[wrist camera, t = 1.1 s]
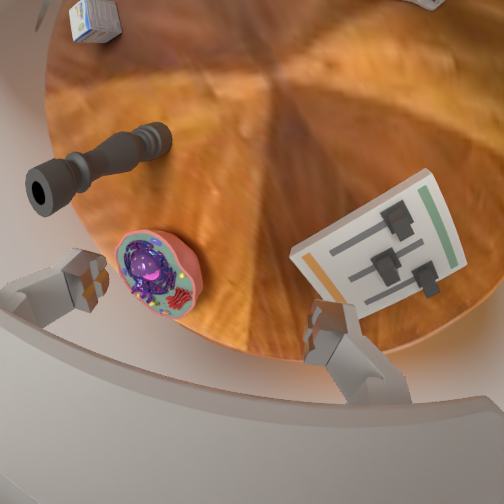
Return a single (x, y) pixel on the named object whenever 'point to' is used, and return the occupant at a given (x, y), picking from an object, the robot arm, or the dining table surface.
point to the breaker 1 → (398, 220)
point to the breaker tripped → (387, 266)
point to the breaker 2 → (427, 278)
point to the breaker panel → (381, 248)
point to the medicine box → (94, 21)
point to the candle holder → (93, 166)
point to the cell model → (160, 271)
